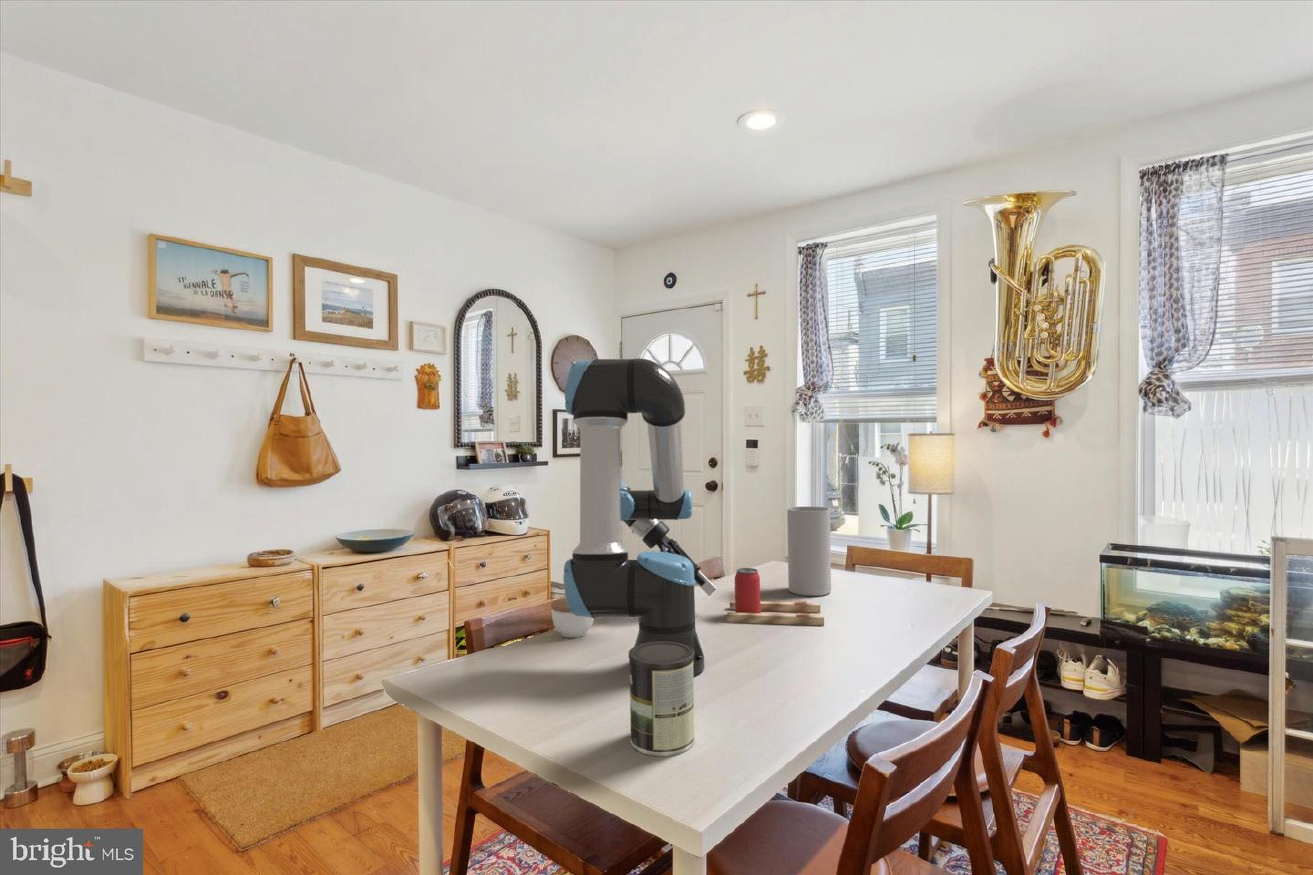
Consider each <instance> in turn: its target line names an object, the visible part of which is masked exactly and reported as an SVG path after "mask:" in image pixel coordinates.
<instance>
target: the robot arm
mask: <svg viewBox="0 0 1313 875" xmlns="http://www.w3.org/2000/svg"><path fill="white" fill-rule="evenodd" d="M564 390H565V391H564V392H565V393H564V401H565V402H564V407H565V411H566V413H567V414H568V415H571V416H573V417H572V418H573V420H572V422H573V424H575V425H576V427H577V428H578V429H579V430H580V432H579V433H580V438H579V439H580V440H579V441H580V444H579V445H580V449H579V450H580V454H579V455H580V458H579V464H580V468H579V470H580V471H579V472H580V473H579V474H580V475H579V476H580V477H579V484H580V485H579V542H578V545H577V546H576V547H575V548H574V549H573V550H572V554H571V557H572V558H569V559H567V560H566V561H565V563H564V565H563V566H564V567H563V578H562V579H563V588H564V596H565V597H566V601H567V604H568V607H569V609H570V611H571V612H572V613H573V614H574V615H576V616H580V617H591V618H594V619H595V618H638V632H637V636H636V640H635V643H634V646H633V647H635V646H637V645H640V644H643V643H647V642H655V641H670V642H677V643H682V644H685V645H687V646H689V647H691V648H692V649H693V650H694V658H693V678H694V677H696V676H699V675H700V674H701V673H702V672H703V671H704V670H705V656H704V652H703V649H702V645H701V643H700V640H699V639H700V638H699V637H698V633H697V631H696V602H695V600H696V599H695V596H696V595H695V585H698V586H699V587H700V588H701V589H702V591H704V593H705V594H707V596H708V597H710V596H711V595H712V594H713V593H714V592H715V591H716V590H717V587H716V585H715V584H714V583H713V582H711V580H709V578H708V577H707V576H706V575H704V573H702V572H701V569H702V568H701V566H698V565H697V563H695V561H693V559H692V558H691V557H690V556H689V555H688V554H687V553H686V552H685V550H684V549H683V548H682V547H681V546H680V544H679V543H678V541H676V540H674V539H673V538H670V537H668V536H667V534H668V533H669V532H670V527H669V526H668V525H666V524H665V522H663V520H665V521H668V520H669V521H674V520H675V521H678V520H687V519H690V518H692V517H693V493H692V491H691V490H690V489H685V487H684V482H685V481H684V464H683V446H682V444H683V442H682V424H681V423H682V422H681V421H682V420H683V419H684V417H685V415H686V407H685V406H686V404H685V399H684V395H683V392H682V389H681V387H680V386H679V384H678V383H677V381H676V379H675V377H673V375H671V373H670V372H669V371H668V370H666V368H664V367H663V366H662V365H661V364H659V363H657V362H655V361H653V360H651V359H646V358H614V359H613V358H611V359H610V358H607V359H605V358H604V359H603V358H602V359H601V358H599V359H597V358H593V359H588V360H578V361H575V362H574V363H573V364H572V365H571V367H570V369H569V371H568V373H567V378H566V382H565V389H564ZM637 413H638V414H639V413H640V414H641V417H642V419H643V421H644V422H645V423H646V424H647V431H648V432H647V434H648V435H647V436H648V445H649V454H650V465H651V476H652V486H653V489H651V490H650V489H649V490H648V489H647V490H638V489H637V490H633V489H631V488H630V487H629V486H628V485H626V483H624V482H623V481H622V479H621V478H622V477H621V474H622V472H621V471H622V469H621V468H622V467H621V466H622V465H621V464H622V460H621V458H622V456H621V453H622V451H621V446H622V445H621V443H622V442H621V437H622V436H621V431H622V429H623V427H624V426H626V425H627V424H628V420H629V418H628V417H629V416H628V415H629V414H637ZM621 522H623V523H625V525H627V526H628V528H629V529H631V534H635V535H636V536H637V537H638V538H641V541H642V542H643V543H644V544H645V545H646V546H647V547H648V548H649V549H653V548H654V547H655V546H657V547H658V548H659V551H653V550H651V551H642V552H639V553H638V555H637V556H636V559H629V550H628V549H627V548H626V547H625V546H624V545H623V543H622V530H621V529H622V528H621V526H622V523H621Z"/></svg>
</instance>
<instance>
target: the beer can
mask: <svg viewBox="0 0 1313 875" xmlns="http://www.w3.org/2000/svg"><path fill="white" fill-rule="evenodd" d="M734 601H735V610H734V613H761V611H760V602H761V578H760V574H759V572H758V569H756V568H751V567H742V568H740V567H739V568H738V569H737V568H736V573H735V575H734Z"/></svg>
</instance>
